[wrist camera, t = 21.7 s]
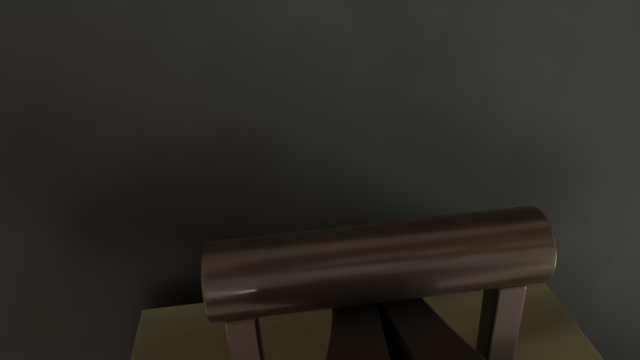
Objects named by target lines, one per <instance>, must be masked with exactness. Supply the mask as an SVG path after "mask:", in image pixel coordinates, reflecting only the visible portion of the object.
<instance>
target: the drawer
mask: <svg viewBox="0 0 640 360" xmlns="http://www.w3.org/2000/svg"><path fill="white" fill-rule="evenodd" d="M556 263H557V247H556V241H555V237H554V233H553V230H552V227H551V225H550V223H549V221H548V219H547V218H546V216H545V215H544V213H543V212H542V211H541V210H539V209H538V208H536V207H533V206H526V207H517V208H508V209H499V210H490V211H480V212H471V213H462V214H453V215H444V216H434V217H425V218H416V219H407V220H398V221H389V222H379V223H370V224H361V225H352V226H343V227H333V228H324V229H315V230H306V231H297V232H288V233H278V234H269V235H260V236H251V237H242V238H232V239H223V240H214V241H206V242H204V243H203V245H202V248H201V257H200V273H201V288H202V297H203V303H196V304H188V305H179V306H171V307H163V308H154V309H146V310H142V312H141V316H140V320H139V324H138V329H137V333H136V337H135V341H134V345H133V349H132V353H131V357H130V360H326V356H327V351H328V346H329V340H330V333H331V325H332V309H333V308H341V307H349V306H357V305H365V304H374V303H382V302H390V301H398V300H406V299H414V298H423V299H424V300H425V301H426V302H427V303H428V304H429V305H430V306H431V308H432V309H433V310H434V311H435V312H436V313H437V314H438V315H439V316H440V317H441V318H442V319H443V320H444V321H445V322H446V323H447V324H448V325H449V326H450V327H451V328H452V329H453V330H454V331H455V332H456V333H458V334H459V335H460V336H461V337H462V338H463V339H464V340H465V341H466V342H467V343H468V344H469V345H471V346H472V347H473V348H474V349H475V350H476V351H477V352H478V353H479V354H481V355H482V356H483V357H484V358H485V359H486V360H604V359H603V358H602V357H601V356H600V354H599V353H598V352H597V350H596V349H595V348H594V346H593V345H592V344H591V343H590V341H589V340H588V339H587V337H586V336H585V335H584V333H583V332H582V331H581V330H580V328H579V327H578V326H577V324H576V323H575V322H574V321H573V319H572V318H571V317H570V315H569V314H568V313H567V311H566V310H565V309H564V308H563V306H562V305H561V304H560V302H559V301H558V300H557V298H556V297H555V296H554V295H553V293H552V292H551V291H550V289H549V288H548V287H547V285H546V284H545V283H544V282H547V281H548V280H549V279H551V277H552V276H553V274H554V272H555V268H556Z"/></svg>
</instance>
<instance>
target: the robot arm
mask: <svg viewBox="0 0 640 360" xmlns="http://www.w3.org/2000/svg"><path fill="white" fill-rule="evenodd" d="M326 360H486V359H485V358H484V357H483V356H482V355H481V354H479V353H478V352H477V351H476V350H475V349H474V348H473V347H472V346H471V345H469V344H468V343H467V342H466V341H465V340H464V339H463V338H462V337H461V336H460V335H459V334H458V333H456V332H455V331H454V330H453V329H452V328H451V327H450V326H449V325H448V324H447V323H446V322H445V321H444V320H443V319H442V318H441V317H440V316H439V315H438V314H437V313H436V312H435V311H434V310H433V309H432V308H431V306H430V305H429V304H428V303H427V302H426V301H425V300H424V299H423V298H414V299H406V300H398V301H390V302H382V303H374V304H365V305H357V306H349V307H341V308H333V309H332V325H331V333H330V340H329V346H328V351H327V356H326Z"/></svg>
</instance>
